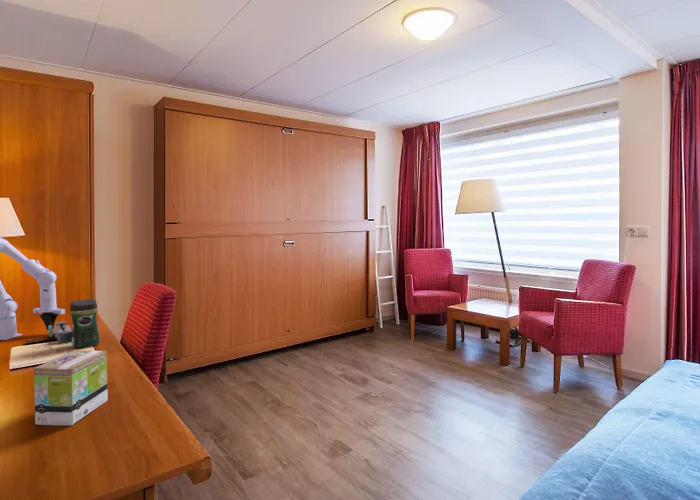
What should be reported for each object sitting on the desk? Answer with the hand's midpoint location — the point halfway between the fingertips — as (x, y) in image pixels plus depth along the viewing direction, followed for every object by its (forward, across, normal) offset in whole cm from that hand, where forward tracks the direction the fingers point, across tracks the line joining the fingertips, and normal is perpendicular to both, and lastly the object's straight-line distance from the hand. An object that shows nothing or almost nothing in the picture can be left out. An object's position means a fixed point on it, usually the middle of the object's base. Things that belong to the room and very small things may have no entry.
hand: (50, 329), depth 187 cm
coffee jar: (+2, +28, -11) cm, 31 cm away
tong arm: (+2, +10, -4) cm, 11 cm away
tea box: (+2, +72, -62) cm, 95 cm away
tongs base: (+2, +11, -3) cm, 11 cm away
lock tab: (+2, +3, -2) cm, 4 cm away
